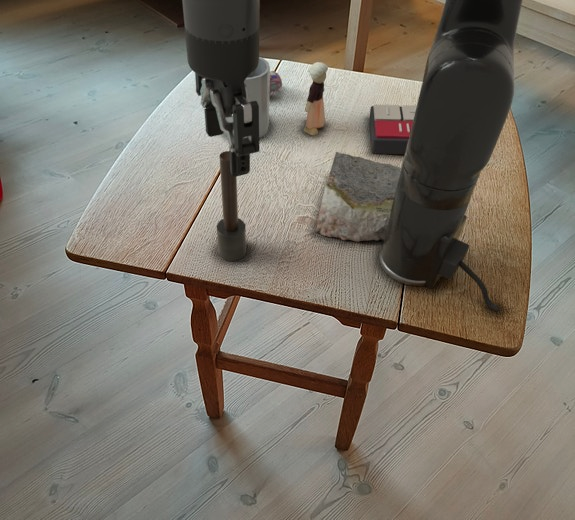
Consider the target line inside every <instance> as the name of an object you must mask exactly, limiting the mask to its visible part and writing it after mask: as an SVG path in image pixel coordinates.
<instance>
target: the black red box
mask: <svg viewBox="0 0 575 520" xmlns="http://www.w3.org/2000/svg"><path fill="white" fill-rule="evenodd" d="M416 107H417V104H414V105H412V104H409V105H408V104H402V105H401V106H400V105H399V104H374V105H371V107H370V110H369V118H368V123H369V135H370V136H369V138H370V147H371V148H370V149H371V153H373V154H377V155H379V154H381V155H382V154H383V155H405V151H406V146H407V143H408V140H409V136H410V132H411V128H412V124H413V120H414V115H415V111H416Z"/></svg>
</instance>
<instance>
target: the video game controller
mask: <svg viewBox="0 0 575 520" xmlns="http://www.w3.org/2000/svg"><path fill="white" fill-rule="evenodd" d="M282 86H283V82H282V78H281V76H280V74H279V73H278V72H276V71H275V70H270V92H269V96H270V95H271V94H272V93H273V92H275V91H277V90H280V89H281V88H283V87H282Z"/></svg>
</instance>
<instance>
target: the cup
mask: <svg viewBox="0 0 575 520" xmlns="http://www.w3.org/2000/svg"><path fill="white" fill-rule="evenodd" d="M270 72H271V66H270V63H269V62H268V60H266V59H265V58H264V57H262V56H259V64H258V67H257V68H256V70H255V71H254V72H253V73H251V74H250V75H249V76H248V77H247V78H246V79H245V81H244V83H245V84H246V86H247V90H248V94H249V97H248V102H251V101H257V103H258V105H259V139H260V138H262V137H264V136H265V135H266V134H267V133H268V131H269V127H270V95H269V92H270ZM226 121H227V122H229V123H231V122H233V118H232V117H228V118H226ZM223 134H224V135H226V132H224V133H223ZM233 134H234V130H233Z"/></svg>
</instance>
